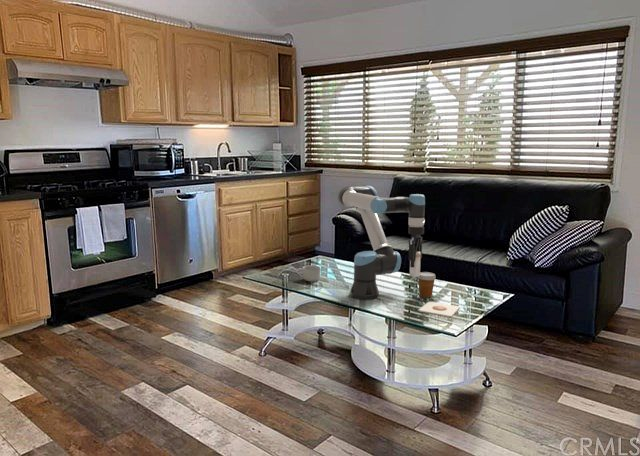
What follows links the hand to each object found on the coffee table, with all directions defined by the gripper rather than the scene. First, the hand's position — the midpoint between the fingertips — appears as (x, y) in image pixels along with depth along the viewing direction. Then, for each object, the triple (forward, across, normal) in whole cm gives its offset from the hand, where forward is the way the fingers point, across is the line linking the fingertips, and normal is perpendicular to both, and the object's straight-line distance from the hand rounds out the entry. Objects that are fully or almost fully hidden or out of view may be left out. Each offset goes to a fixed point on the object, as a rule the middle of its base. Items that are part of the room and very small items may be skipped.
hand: (414, 272), depth 245 cm
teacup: (+16, +10, +69) cm, 72 cm away
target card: (+17, +1, -13) cm, 22 cm away
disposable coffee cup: (+17, +18, 0) cm, 25 cm away
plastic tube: (+2, 0, 0) cm, 2 cm away
